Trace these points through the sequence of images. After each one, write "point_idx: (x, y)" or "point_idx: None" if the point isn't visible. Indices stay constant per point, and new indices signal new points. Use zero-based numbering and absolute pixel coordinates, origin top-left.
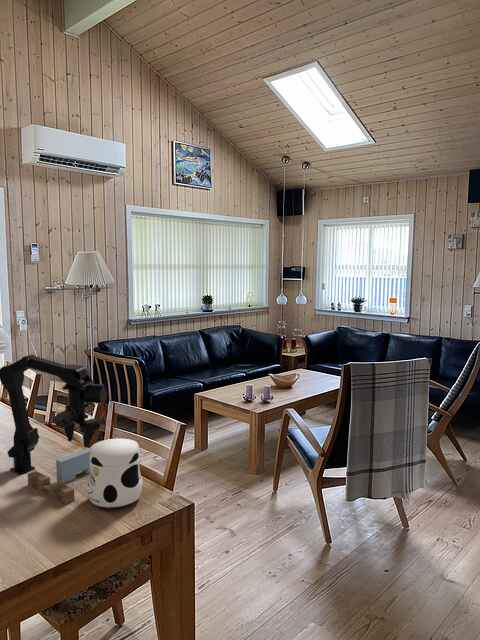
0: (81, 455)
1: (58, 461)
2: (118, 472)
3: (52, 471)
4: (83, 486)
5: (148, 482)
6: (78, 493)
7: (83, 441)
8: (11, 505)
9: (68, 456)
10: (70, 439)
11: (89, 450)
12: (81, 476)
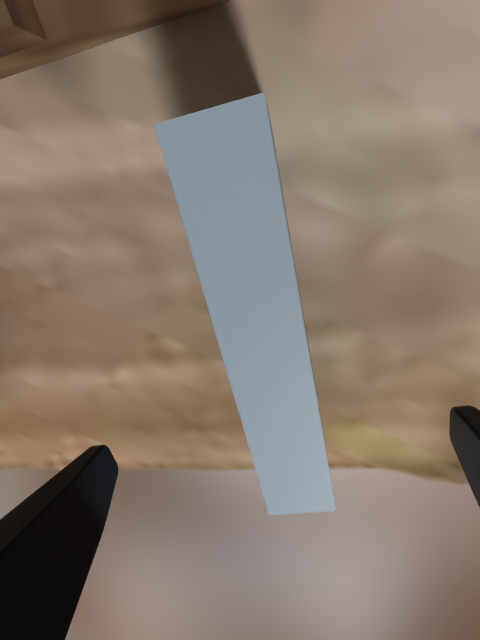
0: (228, 370)
1: (213, 108)
2: None
3: (471, 163)
4: (99, 239)
5: (9, 466)
6: (17, 173)
7: (41, 511)
8: None
9: (266, 263)
10: (463, 443)
11: (275, 455)
12: None
